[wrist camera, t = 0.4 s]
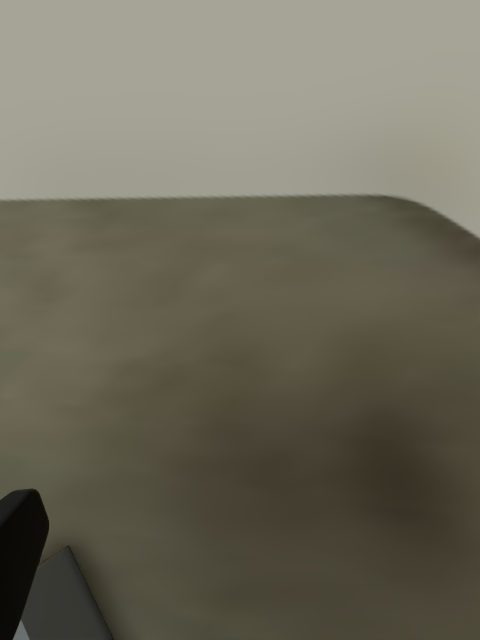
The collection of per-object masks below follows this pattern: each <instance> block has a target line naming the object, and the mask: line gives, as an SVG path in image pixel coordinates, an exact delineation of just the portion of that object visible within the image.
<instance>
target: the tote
mask: <svg viewBox="0 0 480 640" xmlns="http://www.w3.org/2000/svg"><path fill="white" fill-rule="evenodd" d="M13 640H113V638H112V636H111V634H110V632H109V630H108V628H107V626H106V623H105V621H104V619H103V617H102V615H101V613H100V611H99V609H98V607H97V605H96V603H95V601H94V598H93V596H92V594H91V592H90V590H89V588H88V586H87V584H86V582H85V580H84V578H83V576H82V573H81V571H80V569H79V567H78V565H77V563H76V561H75V559H74V557H73V555H72V553H71V551H70V548H69V546H67V547H66V548H64V549H63V550H61V551H60V552H58V553H57V554H55V555H54V556H52V557H51V558H49V559H48V560H46V561H44V562H43V563H41V564H40V565H38V567H37V571H36V574H35V577H34V580H33V583H32V587H31V590H30V593H29V596H28V599H27V603H26V606H25V609H24V612H23V615H22V618H21V620H20V623H19V626H18V628H17V631H16V633H15V636H14V639H13Z"/></svg>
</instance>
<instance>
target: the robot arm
mask: <svg viewBox="0 0 480 640" xmlns="http://www.w3.org/2000/svg"><path fill="white" fill-rule="evenodd" d="M48 531H49V520H48V516H47V513H46V511H45V508H44V505H43V502H42V499H41V496H40V494H39V492H38V491H37V490H36V489H23V490H15V491H13V492H11V493H9V494H8V495H7V496H5V497H4V498H2V499H1V500H0V640H13V639H14V636H15V633H16V631H17V628H18V626H19V623H20V620H21V618H22V615H23V612H24V609H25V606H26V603H27V599H28V596H29V593H30V590H31V587H32V583H33V580H34V577H35V574H36V571H37V567H38V564H39V561H40V558H41V555H42V551H43V548H44V545H45V542H46V539H47V535H48Z"/></svg>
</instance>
